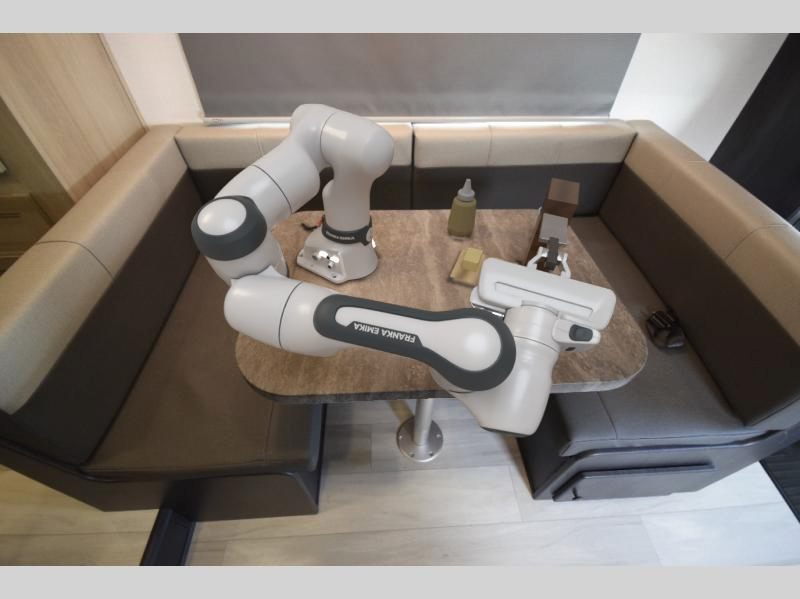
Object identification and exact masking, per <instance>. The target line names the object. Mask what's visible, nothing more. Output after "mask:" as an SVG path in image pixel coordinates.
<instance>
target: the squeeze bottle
mask: <svg viewBox="0 0 800 599" xmlns="http://www.w3.org/2000/svg"><path fill="white" fill-rule="evenodd" d="M475 195H476V193H475V191H474V190H473V189H472V180H471V179H470V178H466V180H465V182H464V184H463V187H462V188H460V189H459V190H458V191H457V195H456V196H455V197H454V198H453V200H452V204H451V209H450V212H449V216H448V219H447V227H448V231H449V233H450V235H452V236H454V237H457V238H465V237H466V238H467V237H468V236H469V235H471V234H472V232H473V230H474V229H475V224H476V214H477V200H476V198H475Z"/></svg>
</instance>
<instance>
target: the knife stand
mask: <svg viewBox="0 0 800 599" xmlns="http://www.w3.org/2000/svg"><path fill="white" fill-rule="evenodd" d="M580 184H581V183H580V182H577V181H570V180H565V179H560V178H555V177H552V178H551V180H550V183H549V186H548V188H547V191H546V194H545V197H544V200H543V202H542V205H541V207H542V208H541V211H540V214H539V217H538V219H537V218H536V220H537V222H536V221H535V224H536V225H535V224H534V228H533V230H532V234H531V237H530V238H529V242H528V245H527V248H526V250H525V253H524V256H523V259H522V263H521V266H525V267H526V266H527V264H528V262H529V261H530V260H531V259H533V258H534V257H535V256H536V255H537V252H538V249H539V247H543V248H547V243H543V242H539V235H540V229H541V223H542V217H543V214H544V213H546V214H551V215H555V216H559V217H564V218H568V226H567V229H568V228H569V226H570V224H571V222H572V219H573V217H574V215H575V212H576V210H577V207H578V205H579V194H580ZM559 249H560V247H559V246H558V250H559ZM536 264H537V267H536V270H540V271H543V272H547V273H550V270H548V269H544V265H545V261H544V262H542V261H539V262H538V263H536Z"/></svg>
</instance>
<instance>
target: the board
mask: <svg viewBox="0 0 800 599" xmlns="http://www.w3.org/2000/svg"><path fill="white" fill-rule="evenodd" d="M467 250H468V249H464V248H462V249H461V251H460V253H459V255H458V256H457V260H456V262H455V264H454V266H453V268H452V270H451V273H450V275H449V277H450V278H453V279H456V280H460V281H464V282H468V283H471V284H474V285H478V281H479V276H480V272H481V268H482V264H483V261H484V260H486V259H488V258H490V257H491V258H495V259H499V260H503V261H506V262H510V263H514V264H517V265H519V262H516V261H512V260H509V259H505V258H504V259H503V258H500V257H497V256H496V257H495V256H492V255H488V254H484V253H482V257H481V260H480V263H479V265H478V268H477V271H476V272H474V271H470V270H466V269H462V263H463V259H464V257H465V254H466V252H467Z"/></svg>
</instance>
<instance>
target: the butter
mask: <svg viewBox="0 0 800 599" xmlns="http://www.w3.org/2000/svg"><path fill="white" fill-rule="evenodd" d="M466 250H467V252H466V254H465V257H464V259H463V263H462V269H466V270H470V271H474V272H476V271H477V268H478V265H479V263H480V260H481V257H482V254H483V251H484V250H482V249H478V248H474V247H471V246H468V247H467V249H466Z"/></svg>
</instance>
